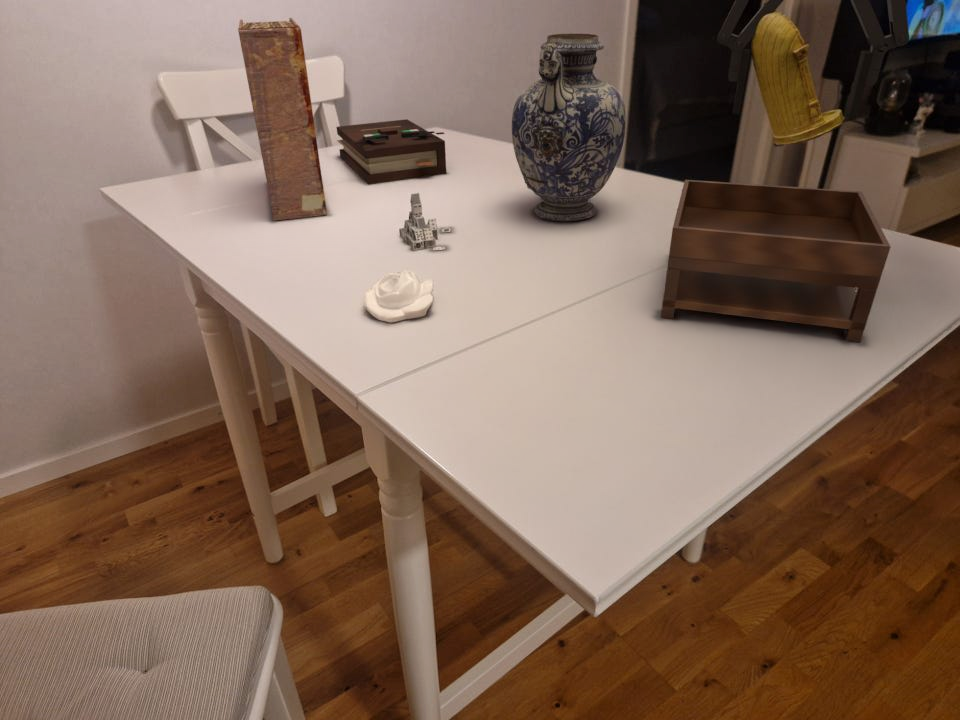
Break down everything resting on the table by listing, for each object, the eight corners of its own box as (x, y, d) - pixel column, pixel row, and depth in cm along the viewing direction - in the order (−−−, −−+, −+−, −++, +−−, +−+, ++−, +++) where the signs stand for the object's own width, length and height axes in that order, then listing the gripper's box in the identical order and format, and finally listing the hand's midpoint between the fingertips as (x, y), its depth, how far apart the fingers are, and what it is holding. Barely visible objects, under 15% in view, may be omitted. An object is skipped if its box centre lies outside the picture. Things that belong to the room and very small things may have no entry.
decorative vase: (536, 190, 127) (539, 28, 113) (631, 200, 120) (648, 29, 106) (490, 224, 110) (488, 40, 96) (598, 239, 103) (612, 43, 89)
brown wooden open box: (838, 274, 90) (862, 191, 84) (860, 342, 74) (890, 246, 68) (673, 257, 97) (684, 179, 91) (660, 317, 80) (672, 227, 74)
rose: (454, 271, 83) (398, 297, 76) (455, 303, 85) (401, 331, 79) (399, 253, 88) (343, 276, 82) (401, 283, 91) (347, 308, 84)
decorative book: (408, 113, 157) (454, 138, 133) (410, 145, 161) (455, 175, 137) (328, 121, 150) (361, 149, 127) (332, 155, 154) (365, 188, 131)
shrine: (738, 154, 74) (766, 3, 66) (728, 138, 81) (753, -1, 73) (848, 157, 72) (889, 2, 64) (828, 140, 79) (864, -2, 71)
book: (270, 183, 135) (239, 19, 120) (315, 178, 137) (291, 17, 122) (274, 221, 114) (237, 29, 99) (327, 215, 116) (300, 26, 101)
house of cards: (469, 245, 102) (467, 197, 99) (416, 254, 100) (412, 205, 96) (449, 227, 110) (446, 181, 106) (399, 235, 107) (394, 189, 103)
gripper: (974, -128, 63) (903, 112, 74) (715, -113, 70) (686, 104, 81) (999, -137, 57) (917, 126, 68) (712, -120, 64) (682, 116, 75)
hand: (792, 114), depth 75 cm, fingers closed on shrine, 11 cm apart
